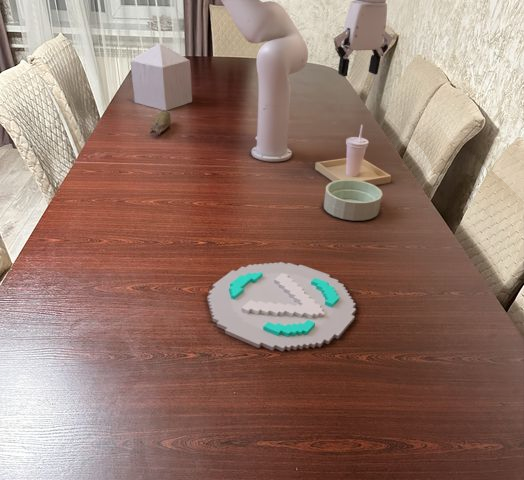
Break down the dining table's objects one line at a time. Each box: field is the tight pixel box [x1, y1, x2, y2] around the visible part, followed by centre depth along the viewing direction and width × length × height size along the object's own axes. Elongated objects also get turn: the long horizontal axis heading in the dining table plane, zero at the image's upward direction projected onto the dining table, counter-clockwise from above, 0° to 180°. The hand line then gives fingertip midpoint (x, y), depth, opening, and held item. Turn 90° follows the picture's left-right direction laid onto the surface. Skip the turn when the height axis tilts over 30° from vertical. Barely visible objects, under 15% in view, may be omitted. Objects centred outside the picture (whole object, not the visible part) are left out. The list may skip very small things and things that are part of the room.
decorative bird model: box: [148, 110, 172, 136], centre depth 175 cm, size 5×20×5 cm, turn 175°
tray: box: [314, 157, 392, 186], centre depth 153 cm, size 17×16×2 cm
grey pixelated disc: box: [206, 261, 357, 352], centre depth 101 cm, size 28×28×2 cm
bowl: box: [323, 180, 384, 221], centre depth 135 cm, size 14×15×5 cm
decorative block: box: [130, 43, 193, 111], centre depth 196 cm, size 16×16×20 cm
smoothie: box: [345, 124, 369, 176], centre depth 149 cm, size 6×6×14 cm
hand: (357, 74), depth 136 cm, fingers open, 9 cm apart
